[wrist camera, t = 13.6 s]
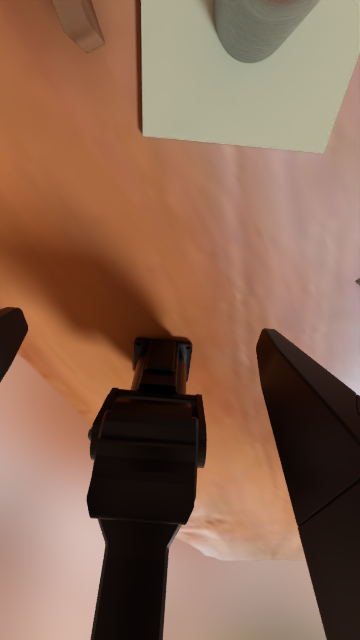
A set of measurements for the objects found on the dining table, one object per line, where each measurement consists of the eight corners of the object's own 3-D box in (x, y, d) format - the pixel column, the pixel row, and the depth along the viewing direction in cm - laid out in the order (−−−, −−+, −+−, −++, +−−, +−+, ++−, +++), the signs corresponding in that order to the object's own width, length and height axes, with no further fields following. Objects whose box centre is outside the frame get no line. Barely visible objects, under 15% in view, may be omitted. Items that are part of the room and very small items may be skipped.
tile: (320, 153, 16) (323, 153, 16) (143, 136, 16) (142, 135, 15) (455, -234, 9) (468, -252, 9) (139, -273, 9) (137, -294, 8)
